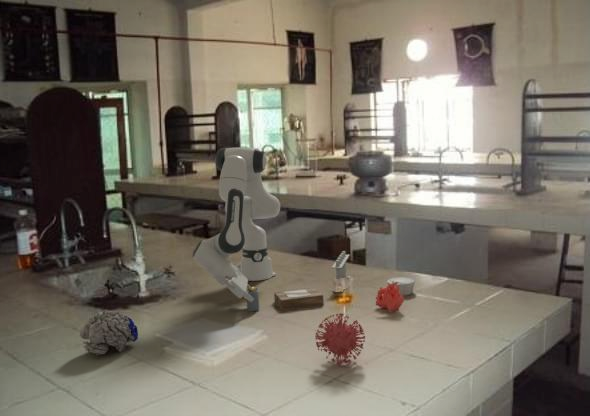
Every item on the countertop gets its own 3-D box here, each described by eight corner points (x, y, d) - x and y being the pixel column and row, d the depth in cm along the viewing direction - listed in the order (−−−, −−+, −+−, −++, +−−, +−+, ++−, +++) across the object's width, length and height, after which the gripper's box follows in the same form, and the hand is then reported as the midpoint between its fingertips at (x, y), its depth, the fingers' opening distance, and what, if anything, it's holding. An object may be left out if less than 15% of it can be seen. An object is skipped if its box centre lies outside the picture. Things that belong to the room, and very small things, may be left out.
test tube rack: (341, 277, 289) (340, 249, 287) (350, 278, 288) (349, 249, 286) (332, 292, 265) (331, 262, 263) (342, 293, 264) (341, 262, 262)
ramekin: (386, 296, 256) (385, 283, 256) (388, 289, 267) (388, 276, 266) (414, 297, 254) (413, 284, 253) (415, 289, 264) (415, 277, 264)
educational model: (138, 364, 210) (151, 320, 214) (95, 357, 194) (109, 309, 198) (109, 356, 218) (122, 313, 221) (65, 348, 201) (79, 302, 205)
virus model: (306, 363, 189) (304, 316, 187) (339, 349, 199) (337, 304, 197) (343, 376, 179) (341, 326, 177) (375, 361, 189) (374, 313, 187)
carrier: (247, 306, 250) (246, 288, 249) (259, 306, 250) (258, 288, 249) (247, 311, 245) (246, 292, 244) (258, 310, 245) (257, 291, 244)
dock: (274, 302, 255) (274, 292, 254) (314, 297, 260) (313, 287, 259) (282, 310, 244) (281, 299, 243) (323, 304, 248) (323, 294, 248)
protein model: (378, 309, 244) (381, 279, 245) (406, 314, 237) (409, 283, 238) (367, 309, 237) (370, 278, 238) (396, 314, 230) (399, 282, 231)
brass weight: (248, 290, 248) (248, 286, 248) (255, 290, 248) (255, 286, 248) (248, 292, 245) (248, 288, 245) (255, 292, 245) (255, 288, 245)
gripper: (230, 274, 235) (258, 298, 236) (233, 262, 255) (259, 284, 257) (219, 286, 235) (246, 310, 237) (223, 273, 255) (248, 295, 257)
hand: (253, 296), depth 247 cm, fingers open, 8 cm apart
